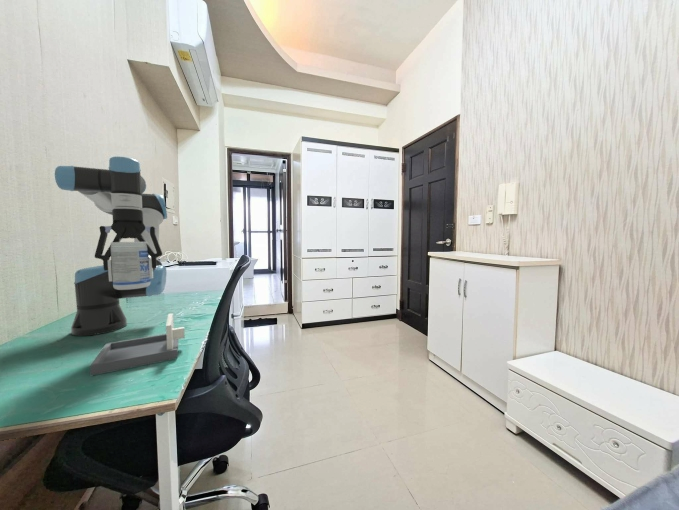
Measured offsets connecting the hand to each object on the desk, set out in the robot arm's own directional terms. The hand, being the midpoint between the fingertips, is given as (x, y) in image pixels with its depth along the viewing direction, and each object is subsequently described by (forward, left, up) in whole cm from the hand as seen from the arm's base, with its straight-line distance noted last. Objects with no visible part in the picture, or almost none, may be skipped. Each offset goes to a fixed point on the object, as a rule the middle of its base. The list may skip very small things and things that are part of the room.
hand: (132, 279), depth 85 cm
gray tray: (+14, +3, -20) cm, 25 cm away
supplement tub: (0, 0, -3) cm, 3 cm away
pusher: (+14, +12, -19) cm, 26 cm away
